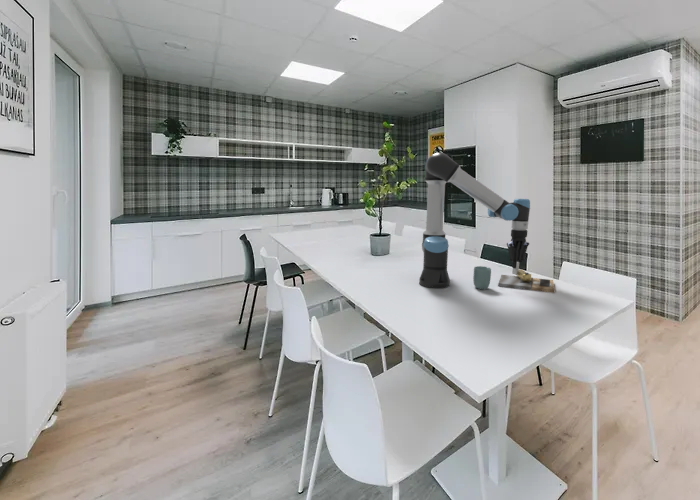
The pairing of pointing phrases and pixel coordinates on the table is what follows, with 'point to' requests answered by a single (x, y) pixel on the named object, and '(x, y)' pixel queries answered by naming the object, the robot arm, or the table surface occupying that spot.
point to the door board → (527, 283)
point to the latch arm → (524, 276)
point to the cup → (482, 277)
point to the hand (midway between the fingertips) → (515, 274)
